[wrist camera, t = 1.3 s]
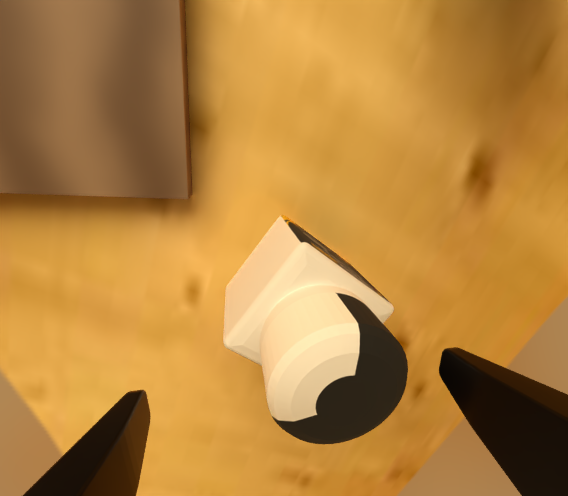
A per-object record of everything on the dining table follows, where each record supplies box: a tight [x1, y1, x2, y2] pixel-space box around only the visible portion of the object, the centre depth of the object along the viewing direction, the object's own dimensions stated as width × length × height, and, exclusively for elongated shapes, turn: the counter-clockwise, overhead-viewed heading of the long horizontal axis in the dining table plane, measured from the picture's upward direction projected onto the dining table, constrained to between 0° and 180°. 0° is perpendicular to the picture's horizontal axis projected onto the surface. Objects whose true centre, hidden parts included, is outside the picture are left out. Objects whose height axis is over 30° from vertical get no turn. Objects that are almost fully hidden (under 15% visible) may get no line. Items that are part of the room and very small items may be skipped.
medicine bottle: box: [223, 215, 408, 444], centre depth 17 cm, size 7×7×12 cm
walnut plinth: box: [0, 0, 192, 199], centre depth 14 cm, size 16×16×2 cm
